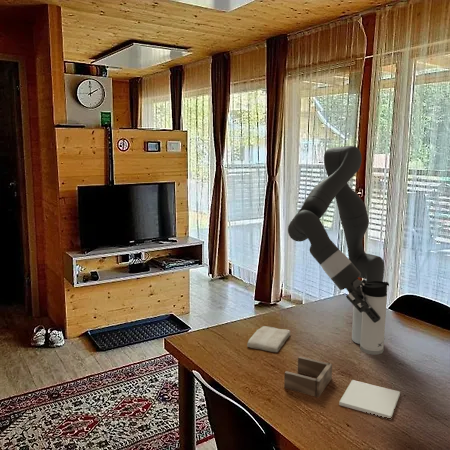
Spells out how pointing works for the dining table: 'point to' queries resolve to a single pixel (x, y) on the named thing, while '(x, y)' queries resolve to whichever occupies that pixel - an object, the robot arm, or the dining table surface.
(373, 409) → the white mat
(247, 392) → the dining table surface
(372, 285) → the travel mug
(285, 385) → the walnut cubby
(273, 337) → the washcloth
